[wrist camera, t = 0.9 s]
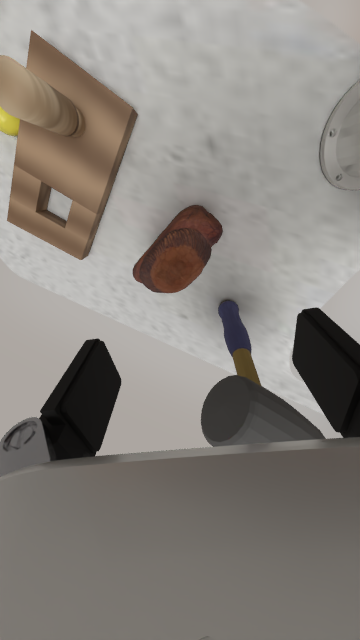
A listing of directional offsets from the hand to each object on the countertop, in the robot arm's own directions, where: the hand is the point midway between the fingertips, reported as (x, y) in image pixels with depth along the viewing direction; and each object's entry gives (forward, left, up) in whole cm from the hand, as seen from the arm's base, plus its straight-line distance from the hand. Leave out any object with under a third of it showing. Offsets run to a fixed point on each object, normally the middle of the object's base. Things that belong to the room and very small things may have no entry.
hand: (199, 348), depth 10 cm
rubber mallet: (+8, +14, -31) cm, 35 cm away
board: (+2, -20, -30) cm, 37 cm away
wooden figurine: (+1, -1, -31) cm, 31 cm away
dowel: (-4, -20, -27) cm, 34 cm away
